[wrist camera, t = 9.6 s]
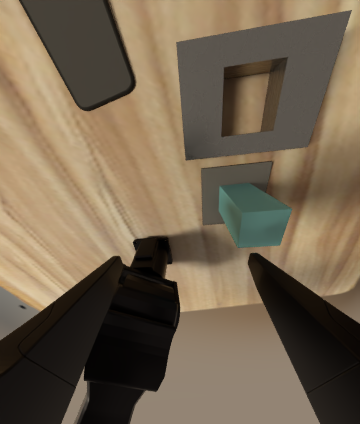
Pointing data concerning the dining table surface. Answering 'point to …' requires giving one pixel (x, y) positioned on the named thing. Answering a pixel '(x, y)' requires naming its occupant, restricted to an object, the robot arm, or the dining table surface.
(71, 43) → the smartphone
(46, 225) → the dining table surface
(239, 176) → the dark gray square pad
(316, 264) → the dining table surface
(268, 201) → the teal square block
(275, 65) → the gray rectangular frame
